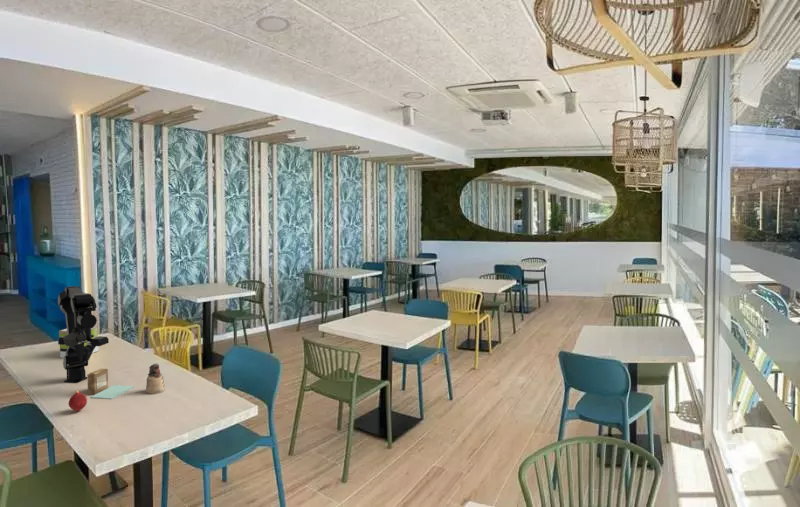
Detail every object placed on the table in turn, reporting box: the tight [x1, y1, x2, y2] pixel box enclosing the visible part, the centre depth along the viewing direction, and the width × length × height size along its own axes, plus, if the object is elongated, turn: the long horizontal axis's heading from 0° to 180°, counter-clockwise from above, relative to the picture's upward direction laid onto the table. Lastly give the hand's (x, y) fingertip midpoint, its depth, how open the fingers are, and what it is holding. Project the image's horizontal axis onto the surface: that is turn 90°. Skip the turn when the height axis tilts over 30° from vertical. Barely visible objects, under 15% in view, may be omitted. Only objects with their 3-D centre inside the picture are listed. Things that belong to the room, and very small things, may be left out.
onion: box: [68, 390, 88, 412], centre depth 185 cm, size 6×6×8 cm
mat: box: [90, 384, 134, 400], centre depth 205 cm, size 9×14×1 cm, turn 175°
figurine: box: [145, 363, 166, 395], centre depth 207 cm, size 7×7×12 cm
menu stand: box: [86, 368, 109, 396], centre depth 205 cm, size 3×8×9 cm, turn 175°
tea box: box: [58, 324, 99, 359], centre depth 256 cm, size 15×10×15 cm, turn 172°
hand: (84, 360), depth 205 cm, fingers open, 3 cm apart
